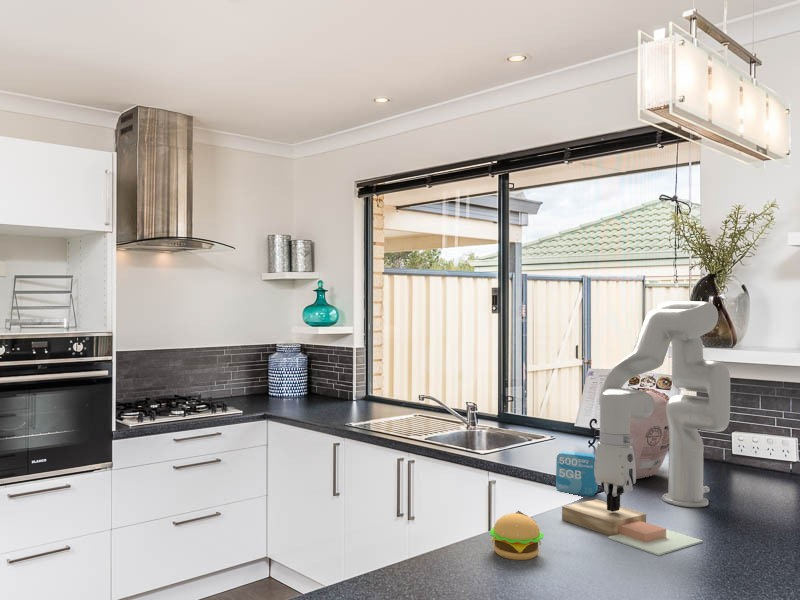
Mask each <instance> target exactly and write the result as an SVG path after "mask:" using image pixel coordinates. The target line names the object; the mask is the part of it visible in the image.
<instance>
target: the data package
mask: <svg viewBox="0 0 800 600" xmlns="http://www.w3.org/2000/svg"><path fill="white" fill-rule="evenodd" d="M595 454H596V453H595ZM595 454H594V453H586V452H576V451H570V450H567V451H566V450H563V451H560V452H559V453H558V454H557V456H556V465H555V466H556V468H555V477H556V478H555V488H556V490H557V491H558V492H559V493H564V494H565V493H566V494H572V495H580V496H585V497H586V496H587V497H588V496H589V497H593V496H594V495H596V493H597V492H598V488H599V484H597V483H596V482H595V480H596V478H595V475H594V464H595Z"/></svg>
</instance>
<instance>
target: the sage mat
mask: <svg viewBox="0 0 800 600" xmlns="http://www.w3.org/2000/svg"><path fill="white" fill-rule="evenodd" d="M665 529H666V537H665V538H661V539H657V540H654V541H650V542H643V541H640V540H637V539H634V538H631V537H628V536H625V535H622V534H617V535H613V536H609V535H608V537H607V538H608V539H609V540H612V541H615V542H617V543H620V544H624V545H626V546H629V547H632V548H636V549H638V550H641V551H643V552H647V553H650V554H652V555H656V556H658V557H659V556H661V555H666V554H669V553H671V552H675V551H678V550H681V549H682V550H683V549H684V548H689V547H691V546H694V545H695V546H696V545H698V544H701V543H703V542H704V541H703V539H699V538H697V537H696V538H695V537H692V536H689V535H686V534H683V533H679V532H676V531H673V530H669V529H667V528H665Z"/></svg>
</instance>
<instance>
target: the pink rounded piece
mask: <svg viewBox="0 0 800 600" xmlns="http://www.w3.org/2000/svg"><path fill="white" fill-rule="evenodd" d="M644 391H645V392H647V393H649V394H650V395H651V396H652V397H653V399H654V403H655V407H654V411H653V412H652V414H651V415H650V416H649V417H647V418H644V419H635V418H631V419H630V438H633V443H630V446H632V447H633V451H634V457H635V467H636V480H638V479H644V478H645V477H646V478H650V477H652V476H654V475H655V474H656V473H657V472H658V471H659V470H660V468H661V467H662V465H663V463H664V461H665V458H666V456H667V454H668V452H669V427H668V420H667V414H666V405H667V402H668V400H666V399H665V398H664V397H662V396H661V395H660V394H658V393H656V392H653V391H651V390H644ZM649 476H650V477H649ZM646 478H645V479H646Z"/></svg>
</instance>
